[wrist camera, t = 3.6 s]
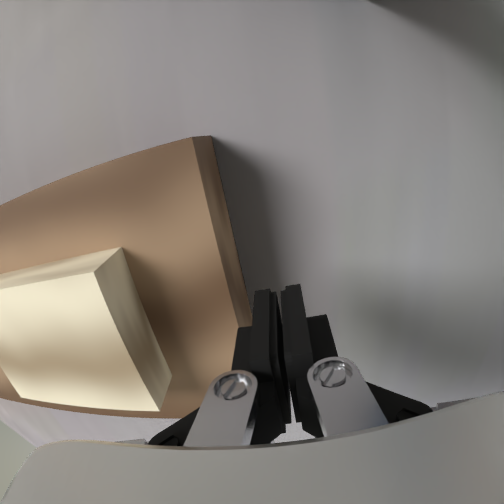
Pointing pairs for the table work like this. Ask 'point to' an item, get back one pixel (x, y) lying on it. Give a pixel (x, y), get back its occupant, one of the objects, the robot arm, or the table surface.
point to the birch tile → (80, 335)
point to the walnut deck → (146, 256)
